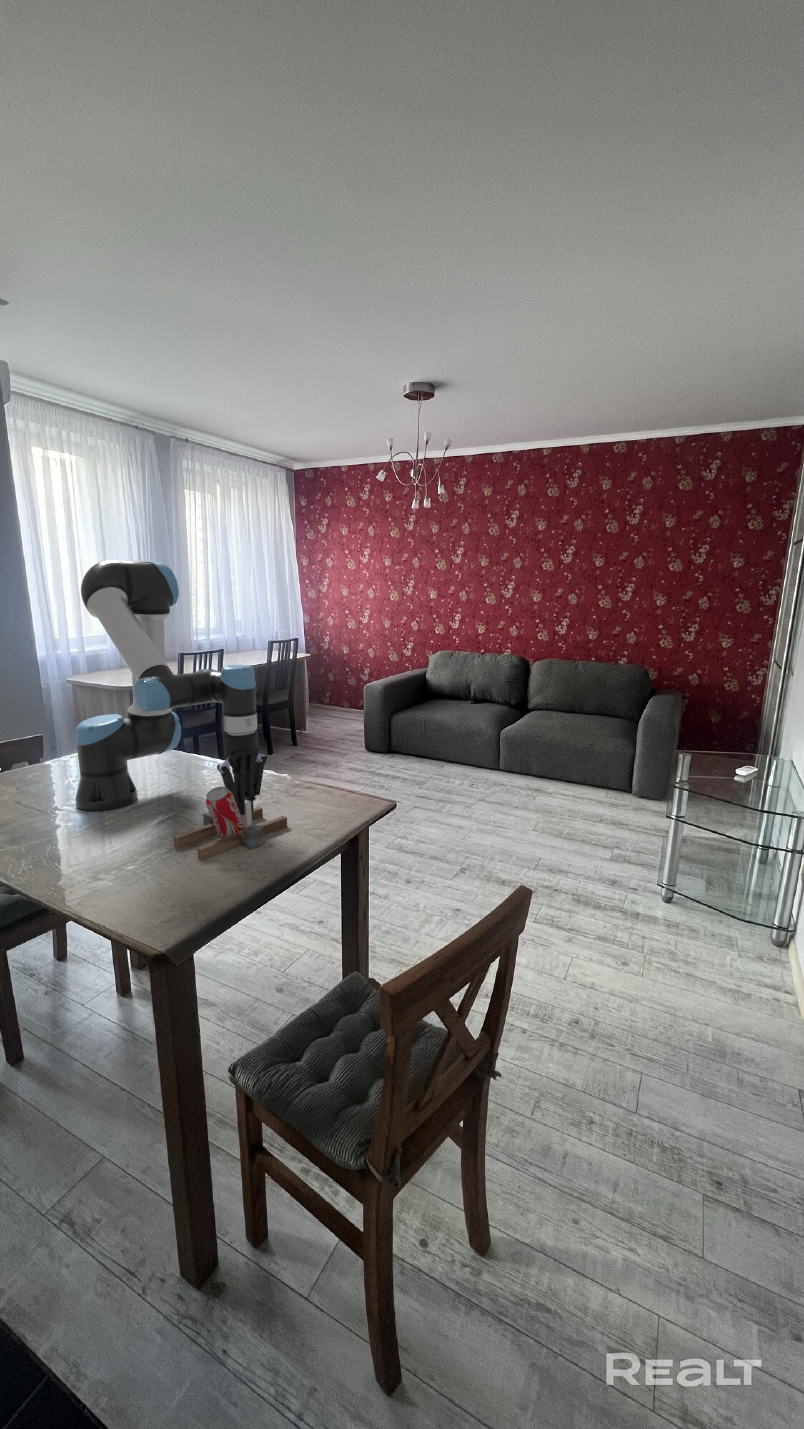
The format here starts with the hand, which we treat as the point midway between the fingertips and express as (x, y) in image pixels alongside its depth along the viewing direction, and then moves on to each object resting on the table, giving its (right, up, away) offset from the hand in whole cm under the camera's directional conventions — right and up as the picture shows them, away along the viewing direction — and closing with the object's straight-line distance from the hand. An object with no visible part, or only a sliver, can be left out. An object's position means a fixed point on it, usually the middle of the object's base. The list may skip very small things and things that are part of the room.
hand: (246, 825), depth 144 cm
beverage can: (-2, -1, -3) cm, 4 cm away
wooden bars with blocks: (-2, -2, -2) cm, 4 cm away
